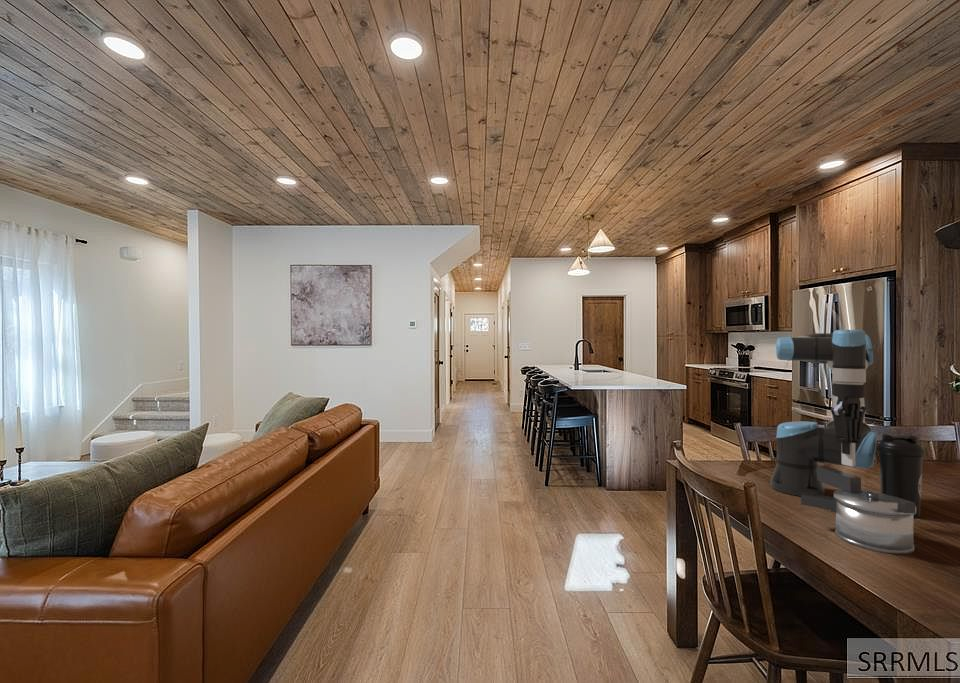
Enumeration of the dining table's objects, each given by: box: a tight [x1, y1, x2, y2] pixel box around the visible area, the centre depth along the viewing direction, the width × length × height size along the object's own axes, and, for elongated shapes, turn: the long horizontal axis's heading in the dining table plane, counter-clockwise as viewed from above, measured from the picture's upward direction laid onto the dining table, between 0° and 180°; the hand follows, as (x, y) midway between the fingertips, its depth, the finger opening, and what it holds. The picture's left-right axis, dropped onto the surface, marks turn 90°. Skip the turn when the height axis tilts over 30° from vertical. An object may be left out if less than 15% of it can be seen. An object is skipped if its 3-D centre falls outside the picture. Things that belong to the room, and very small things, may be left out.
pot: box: [800, 492, 915, 555], centre depth 119 cm, size 23×15×9 cm
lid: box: [817, 466, 916, 516], centre depth 120 cm, size 25×16×5 cm, turn 4°
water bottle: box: [877, 433, 925, 519], centre depth 136 cm, size 10×10×23 cm
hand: (848, 465), depth 131 cm, fingers closed
